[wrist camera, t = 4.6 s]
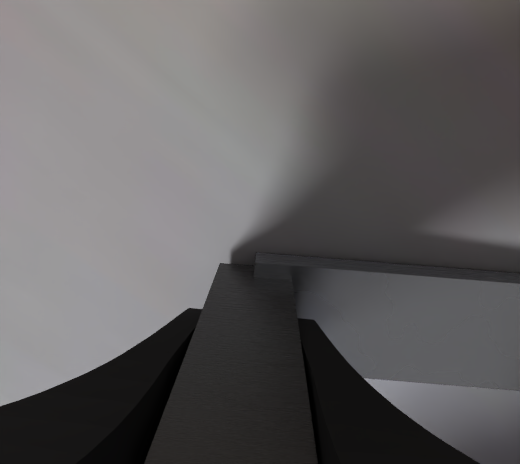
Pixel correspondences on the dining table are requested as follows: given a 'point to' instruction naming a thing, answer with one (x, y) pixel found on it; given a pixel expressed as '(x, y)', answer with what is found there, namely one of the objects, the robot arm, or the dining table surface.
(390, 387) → the dining table surface
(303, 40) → the dining table surface
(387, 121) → the dining table surface
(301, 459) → the grey l-shaped block
